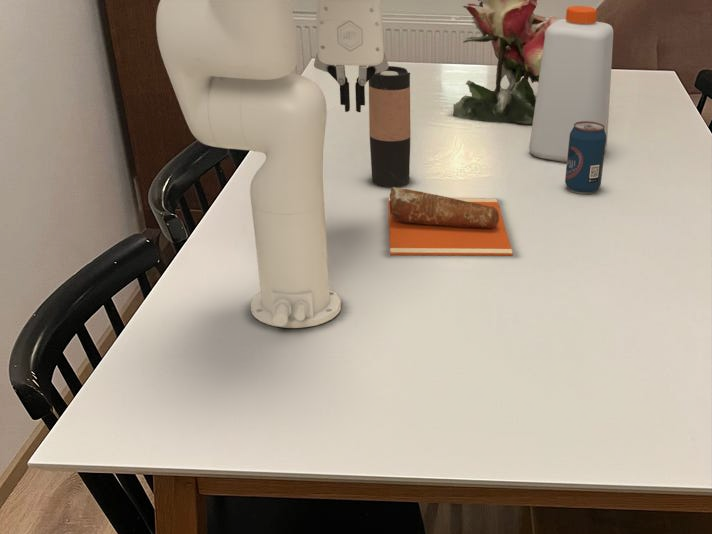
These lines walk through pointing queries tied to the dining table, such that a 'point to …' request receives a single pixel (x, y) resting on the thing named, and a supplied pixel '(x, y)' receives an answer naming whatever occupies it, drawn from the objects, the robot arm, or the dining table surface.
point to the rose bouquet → (507, 60)
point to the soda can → (585, 157)
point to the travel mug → (390, 127)
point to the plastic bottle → (571, 81)
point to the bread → (439, 210)
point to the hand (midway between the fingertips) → (353, 109)
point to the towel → (449, 237)
